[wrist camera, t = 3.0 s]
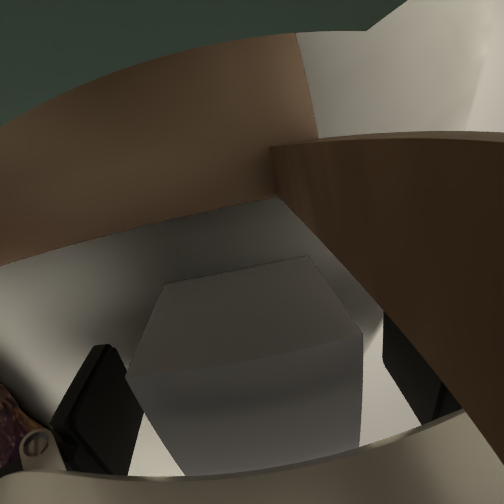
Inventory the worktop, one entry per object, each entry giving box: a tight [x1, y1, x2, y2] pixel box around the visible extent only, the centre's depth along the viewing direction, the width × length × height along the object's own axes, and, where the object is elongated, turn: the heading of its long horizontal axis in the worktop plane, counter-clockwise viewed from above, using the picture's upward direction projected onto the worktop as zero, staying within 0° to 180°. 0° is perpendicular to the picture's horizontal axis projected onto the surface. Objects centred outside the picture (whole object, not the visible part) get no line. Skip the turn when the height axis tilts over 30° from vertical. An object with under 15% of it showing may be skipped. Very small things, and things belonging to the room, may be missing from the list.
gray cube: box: [125, 255, 363, 476], centre depth 9 cm, size 5×5×5 cm
